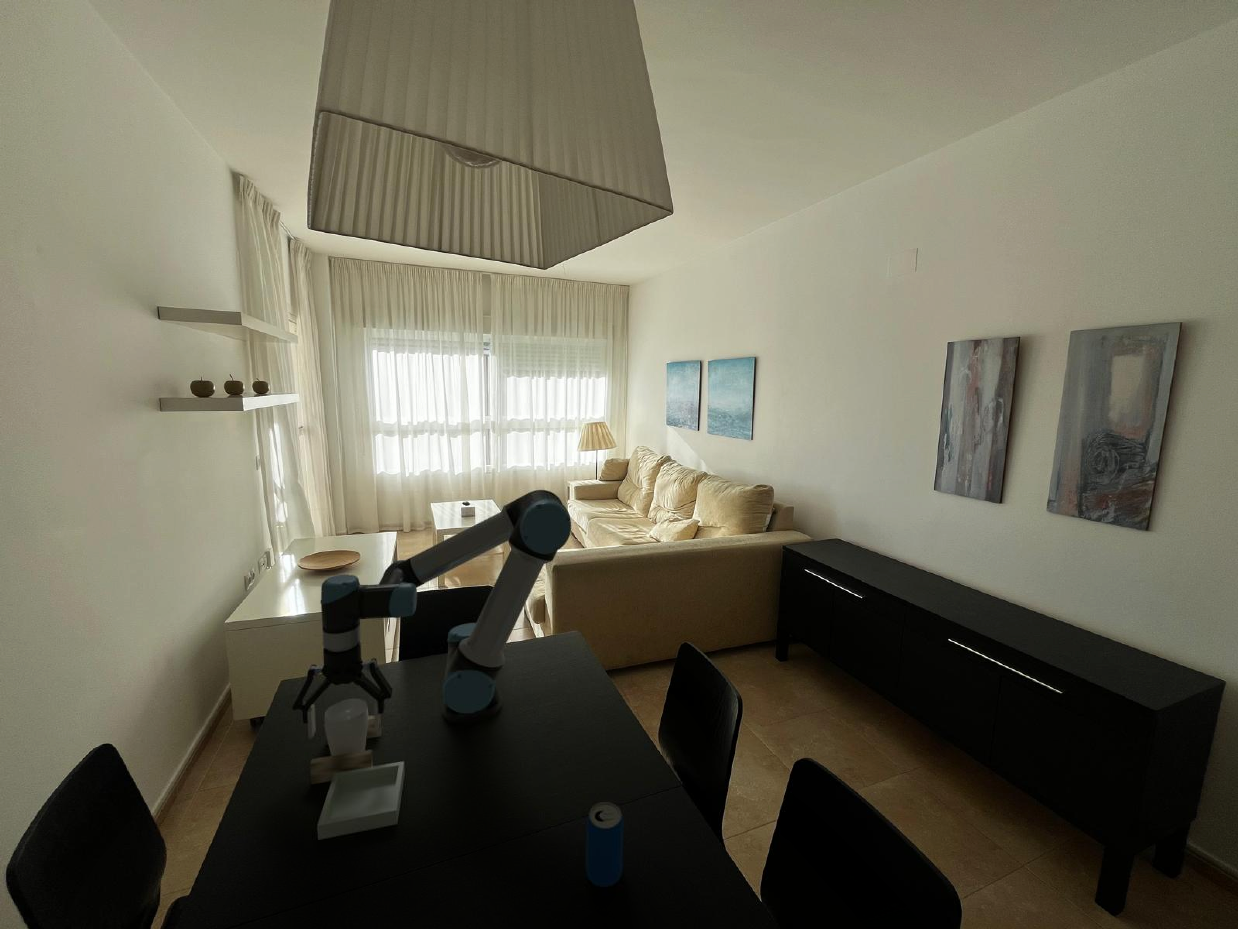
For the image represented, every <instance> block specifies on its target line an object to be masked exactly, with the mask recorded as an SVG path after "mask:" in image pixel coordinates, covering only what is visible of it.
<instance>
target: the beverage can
mask: <svg viewBox="0 0 1238 929" xmlns="http://www.w3.org/2000/svg"><path fill="white" fill-rule="evenodd" d="M623 844H624V816H623V815H622V812H621V809H620V808H619V806H617V805H616V804H614V803H612V802H608V801H602V802H599V803H596V804H595V805H593V806H592V807H591V809H590V811H589V814H588V816H587V819H586V856H585V857H586V858H585V859H586V861H585V862H586V863H585V864H586V865H585V866H586V867H585V868H586V869H585V870H586V871H585V872H586V876H587V878H588V879H589V881H590V882H591V883H592V884H594V885H595V886H598V887H605V888H606V887H610V886H613V885H615V883H617V882H618V881H619V880H620V878H621V877H622V872H623V854H624V853H623V852H624V851H623V850H624V847H623Z"/></svg>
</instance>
